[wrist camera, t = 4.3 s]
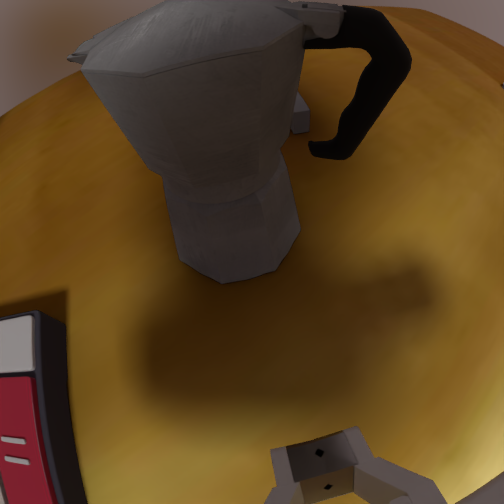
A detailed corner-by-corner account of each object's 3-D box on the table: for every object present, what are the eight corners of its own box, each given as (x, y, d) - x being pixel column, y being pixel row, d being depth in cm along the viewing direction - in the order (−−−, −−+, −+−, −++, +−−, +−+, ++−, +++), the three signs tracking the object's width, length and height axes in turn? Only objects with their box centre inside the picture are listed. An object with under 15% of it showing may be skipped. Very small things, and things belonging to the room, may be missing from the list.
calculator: (-32, 501, 9) (-50, 323, 16) (2, 497, 13) (-17, 337, 20) (66, 534, 10) (33, 304, 17) (99, 519, 14) (67, 322, 20)
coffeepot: (133, 274, 22) (-23, 51, 6) (170, 175, 26) (100, -26, 11) (358, 301, 19) (482, -1, 4) (357, 187, 24) (396, -46, 8)
